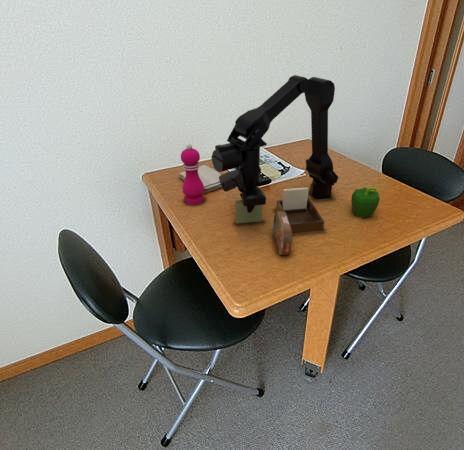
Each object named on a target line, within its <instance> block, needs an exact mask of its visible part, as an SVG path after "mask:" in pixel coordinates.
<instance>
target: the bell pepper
mask: <svg viewBox="0 0 464 450" xmlns="http://www.w3.org/2000/svg"><path fill="white" fill-rule="evenodd" d="M377 190H378V188H377V187H375V186H370V187H368V188H367V187H361V188H355V189H354V191H353V192H352V193H351V199H350V200H351V209H352V212H353V214H354V216H356V217H358V218H362V219H364V218H368V217H369V218H370V217H372V216H373V215H374V214H375V212H376V210H377V208H378V207H379V203H380V199H381V198H380V194H379V191H377Z"/></svg>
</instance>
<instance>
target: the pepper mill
mask: <svg viewBox="0 0 464 450" xmlns="http://www.w3.org/2000/svg"><path fill="white" fill-rule="evenodd" d="M200 155H201V154H200V152H199V151H198V150H197V149H195V148H193V145H192V144H191V143H187V144H186V148H185V149H183V150H182V151H181V153H180V160H181V162H182V167H183V170H184V171H185V172H186V176H185V181H184V180H183V184H182V193H183V194H184V202H185V203H186V204H188V205H191V206H196V205H200V204H202V203H203V202H204V200H205V199H204V194H202V193H203V192H204V185H203V183H202V181H201V179H200V177H199V175H198V168H199V167H200V163H199V161H200V160H201V156H200Z"/></svg>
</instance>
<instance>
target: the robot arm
mask: <svg viewBox="0 0 464 450" xmlns="http://www.w3.org/2000/svg"><path fill="white" fill-rule="evenodd" d="M335 91H336V86H335V83H334V82H333V81H332V80H330V79H326V78H321V77H317V76H311V77H310V78H307V77H306V76H301V75H297V74H294V75H291V76H290V77H288V80H287V81H286V82H285V83H284V84H283V85H281V87H280V88H278V89H277V90H276V91H275V92H274V93H273V94H271V95H270V96H269V98H267V99H266V100H265V101H263V103H262V104H260V105H259V106H258V107H255V108H253V109H250V110H247V111H246V112H244V113H243V114H241V115H239V116H238V117H237V119H235V124H234V126H233V128H232V130H231V132H230V134H229V135H228V137H227V139H226V141H227V142H228V143H224V144H216V145H215V146H214V148H215V149H214V150H213V151H212V154H211V157H210V158H211V163H212V165H213V169H214V170H215V171H216V172H218V173H222V172H225V173H223V174H221V175H220V176H219V181H220V183H221V186H222V187H221V188H222V190H223V192H225V193H227V192H229V191H230V192H231V191H233V190H235V189H237V190H238V191H239V192H240V193H239V196H240V198H241V200H242V202H243V205H244V206H246V207H247V211H248V213H251V212H252V210H253V209H254V207H255V205H262V206H264V205H266V204H267V197H266V193H265V192H264V190H262V189H261V188H260V187H261V183H262V182H261V180H260V173H261V172H262V168H261V165H260V164H261V163H260V161H261V159H260V157H261V156H260V155H261V148H262V147H266V146H267V144H268V143H267V142H266V141H265V140H263V137H264V136H265V135H266V134H267V132H268V131H269V129H270V127H271V123H272V122H273V121H274V119H275V118H276V117H278V116H279V115H280V114H281V113H282V112H283V111H284V110H285V109H287V107H289V106H290V105H291V104H293V102H294V101H296V99H297V98H299V97H300V96H301V95H302V94H304V98H305V102H306V104H307V106H308V108H309V110H310V121H311V123H310V124H311V126H310V127H311V155H310V156H309V158H306V160H305V171H306V172H307V174H308V177H309V179H310V178H311V179H312V180H311V181H312V182H311V183H310V186H309V190H308V193H309V194H310V196H311V197H312V198H313V199H314V200H315V201H318V200H330V199H333V196H332V190H333V186H334V185H335V184H336V183H337V182H338V180H339V176H338V175H337V173H336V172H335V171H334V164H333V160H332V158H331V157H330V154H329V109H330V107H331V106H332V104H333V102H334V98H335ZM240 137H241V138H243V139H245V140H243V139H241V138H240ZM229 170H230V171H229Z"/></svg>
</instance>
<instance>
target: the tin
mask: <svg viewBox="0 0 464 450" xmlns="http://www.w3.org/2000/svg"><path fill="white" fill-rule="evenodd" d="M272 229H273V234H274V236H275V240H276V243H277V248H278V255H280V256H281V255H285V256H286V255H290V254H291V249H292V244H293V234H292V229H291V226H290V223H289V220H288V217H287V214H286V212H283V211H277V210H276V211H275V212H274V216H273V228H272Z"/></svg>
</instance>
